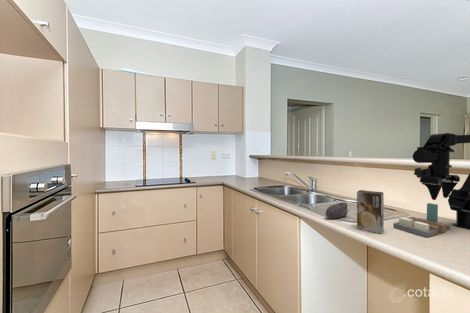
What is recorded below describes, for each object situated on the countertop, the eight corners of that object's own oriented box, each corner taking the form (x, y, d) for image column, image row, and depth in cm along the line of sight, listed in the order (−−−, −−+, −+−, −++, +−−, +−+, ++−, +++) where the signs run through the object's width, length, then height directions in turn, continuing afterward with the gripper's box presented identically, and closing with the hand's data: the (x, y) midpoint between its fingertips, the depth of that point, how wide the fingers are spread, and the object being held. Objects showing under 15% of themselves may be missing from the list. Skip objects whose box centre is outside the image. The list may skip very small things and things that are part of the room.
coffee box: (384, 229, 92) (384, 192, 91) (381, 234, 87) (381, 194, 87) (359, 225, 98) (360, 189, 98) (356, 228, 93) (356, 191, 93)
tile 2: (417, 221, 89) (413, 222, 88) (429, 224, 85) (425, 225, 84) (417, 230, 89) (413, 231, 88) (429, 234, 86) (425, 235, 84)
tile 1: (402, 217, 95) (399, 217, 94) (413, 219, 91) (409, 220, 90) (402, 226, 95) (399, 227, 94) (413, 229, 91) (409, 230, 90)
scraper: (419, 222, 101) (419, 201, 101) (450, 230, 91) (450, 206, 91) (415, 223, 100) (415, 201, 100) (446, 231, 90) (446, 207, 90)
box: (401, 225, 96) (401, 221, 96) (435, 235, 85) (435, 230, 85) (393, 227, 94) (393, 223, 94) (426, 237, 83) (426, 232, 83)
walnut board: (412, 223, 100) (412, 216, 100) (446, 232, 89) (446, 224, 89) (402, 225, 97) (402, 219, 96) (435, 235, 86) (435, 227, 86)
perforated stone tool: (330, 221, 104) (330, 206, 104) (321, 218, 109) (321, 204, 108) (351, 217, 110) (351, 203, 110) (342, 214, 115) (342, 201, 115)
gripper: (429, 161, 105) (428, 193, 105) (406, 162, 97) (405, 197, 97) (460, 162, 94) (460, 198, 95) (437, 163, 87) (436, 202, 87)
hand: (439, 198), depth 94 cm, fingers open, 9 cm apart
